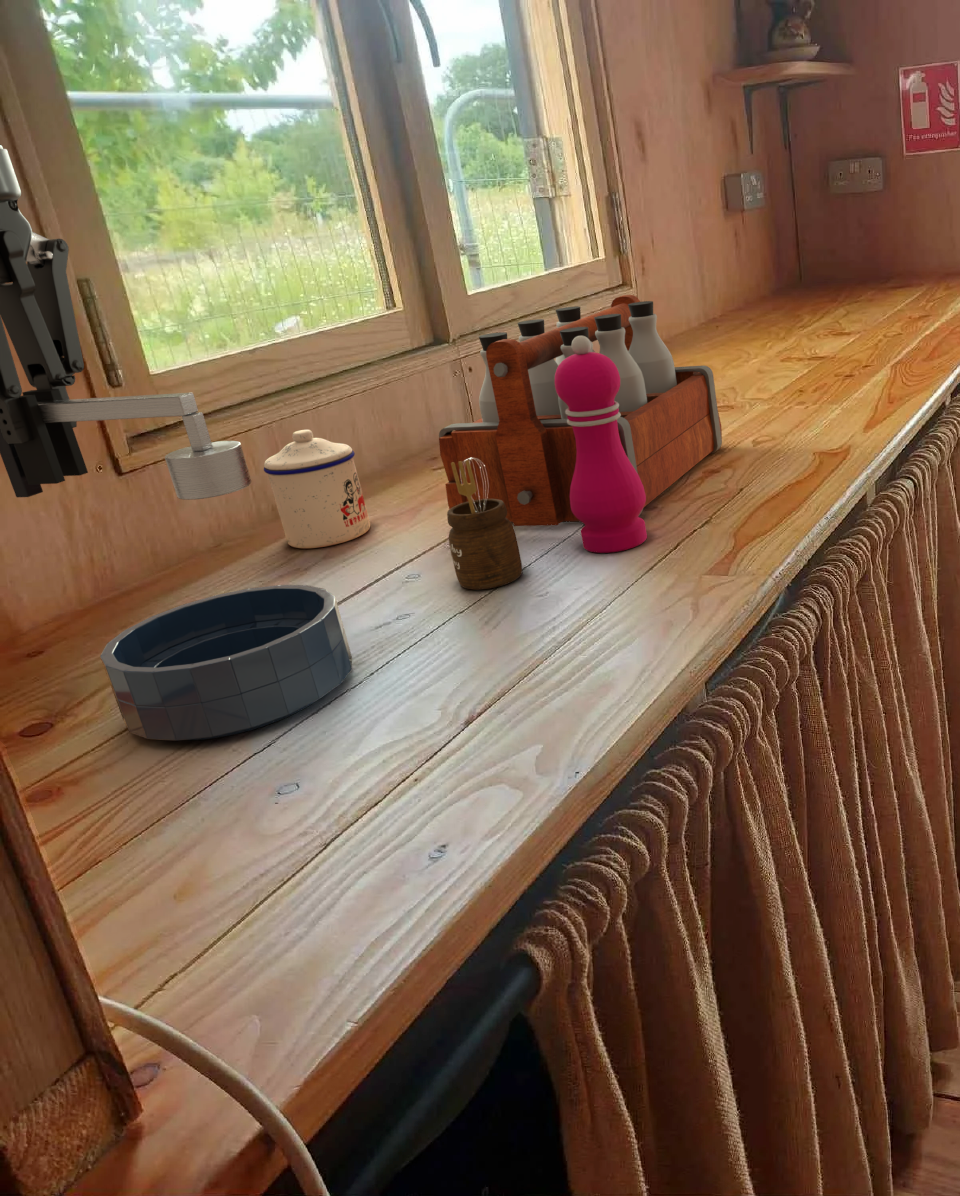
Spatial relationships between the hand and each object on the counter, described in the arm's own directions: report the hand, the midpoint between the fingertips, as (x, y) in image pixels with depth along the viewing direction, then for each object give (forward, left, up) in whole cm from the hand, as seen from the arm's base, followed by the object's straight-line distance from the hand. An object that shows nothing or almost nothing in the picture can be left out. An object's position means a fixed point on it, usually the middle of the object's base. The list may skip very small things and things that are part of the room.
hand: (58, 478), depth 85 cm
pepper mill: (+30, +31, -17) cm, 46 cm away
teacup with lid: (-6, +35, -17) cm, 39 cm away
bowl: (+15, -3, -16) cm, 22 cm away
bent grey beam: (+6, 0, -1) cm, 6 cm away
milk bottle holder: (+19, +51, -17) cm, 56 cm away
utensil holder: (+22, +21, -17) cm, 34 cm away
